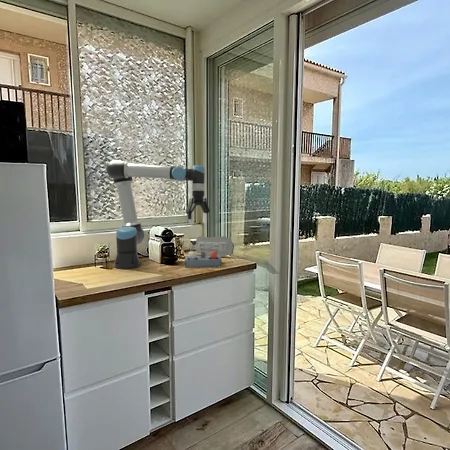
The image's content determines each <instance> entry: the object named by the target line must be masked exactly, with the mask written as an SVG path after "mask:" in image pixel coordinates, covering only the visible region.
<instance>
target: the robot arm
mask: <svg viewBox="0 0 450 450" xmlns="http://www.w3.org/2000/svg"><path fill="white" fill-rule="evenodd" d="M105 170H106V174H107V176H109V177H110V178H111V179H112V181H113V185H115V186H116V188H117V193H118V198H119V199H118V200H119V203H120V204H119V205H120V208H121V209H120V210H121V214H122V219H123V225H122V226H121V227H118V228H117V229H116V233H115V237H116V256H115V259H114V263H113V265H114V268H115V269H118V270H119V269H123V270H124V269H127V270H128V269H135V268H138V267H141V261H140V258H139V257H140V256H139V255H138V245H139V244H141V243H142V242H143V241H144V239H145V231H144V229H143V228H142V224H141V222H139V220H138V216H137V215H138V214H137V211H136V210H137V209H136V204H135V200H134V194H133V188H132V183H133V178H146V179H147V178H148V179H163V180H174V181H180V182H181V181H185V182H186V181H187V182H188V181H189V182H190V181H192V188H191V189H192V191H191V192H192V197H189V199H188V200H189V201H188V205H187V208H186V209H185V214H187V218H188V225H193V221H194V216H193V215H194V214H193V212H194V211H195V208H196V207H197V206H199V207H200V208H201V209H202V223H203V224H207V223H208V214H209V212H210V211H211V210H210V208H209V204H208V201H207V197H205V191H204V190H205V167H204V165H192V167H191V168H185V167H182V166H179V165H178V166H169V165H168V166H167V165H158V164H157V165H156V164H155V165H154V164H142V163H129V162H128V161H125V160H124V161H123V160H119V159H113V160H110V161H109V162H108V163H107V164H106V169H105Z"/></svg>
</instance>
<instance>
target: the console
mask: <svg viewBox="0 0 450 450" xmlns="http://www.w3.org/2000/svg"><path fill="white" fill-rule="evenodd" d="M222 265H223V264H222V257H220V255H217V259H210V255H207V254H205V252H202V253H201V254H200V255H196V260H189V255H185V258H184V268H220V267H221V266H222ZM219 266H220V267H219ZM221 268H222V267H221Z"/></svg>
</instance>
